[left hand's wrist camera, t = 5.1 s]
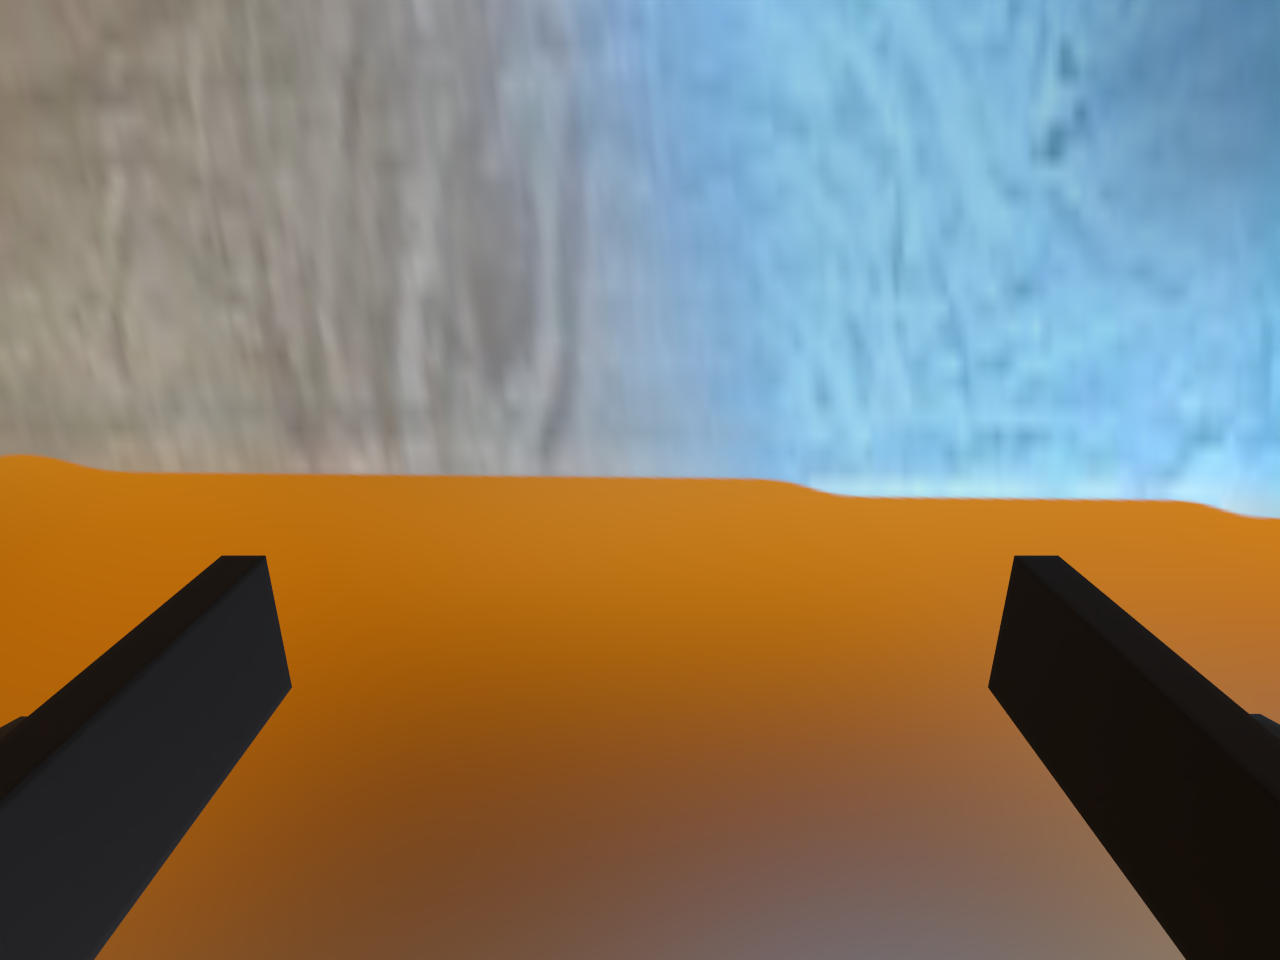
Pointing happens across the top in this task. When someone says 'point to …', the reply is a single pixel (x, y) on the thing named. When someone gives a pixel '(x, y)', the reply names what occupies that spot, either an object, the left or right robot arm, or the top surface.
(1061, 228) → the top surface
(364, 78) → the top surface
